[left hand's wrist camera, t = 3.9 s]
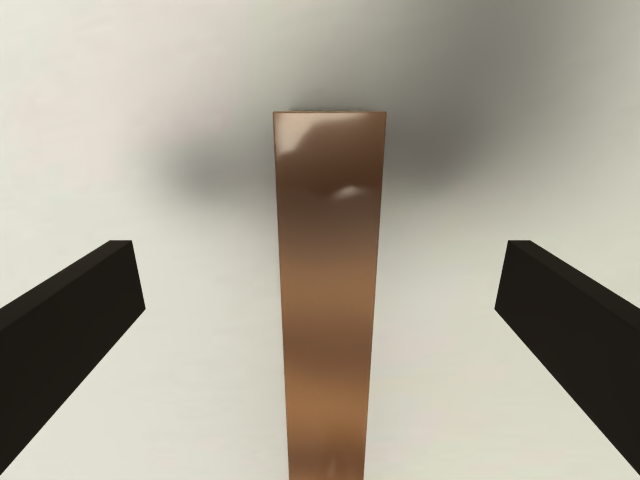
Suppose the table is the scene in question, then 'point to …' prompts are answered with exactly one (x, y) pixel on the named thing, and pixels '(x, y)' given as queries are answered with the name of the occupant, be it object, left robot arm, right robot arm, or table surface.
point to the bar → (328, 282)
